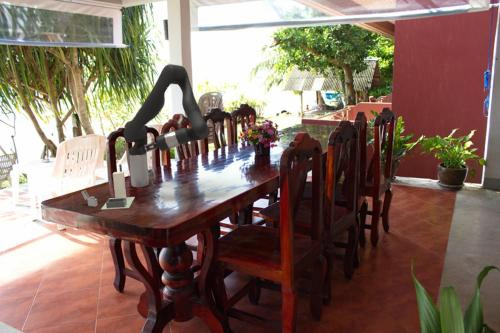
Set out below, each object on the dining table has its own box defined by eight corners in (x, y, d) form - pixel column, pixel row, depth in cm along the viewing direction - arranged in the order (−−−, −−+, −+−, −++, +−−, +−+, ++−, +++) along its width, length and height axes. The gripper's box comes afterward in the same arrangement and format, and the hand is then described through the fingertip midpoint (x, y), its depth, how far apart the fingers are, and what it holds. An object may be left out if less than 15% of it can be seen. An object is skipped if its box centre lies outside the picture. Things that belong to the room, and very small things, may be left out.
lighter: (98, 207, 199) (96, 190, 198) (95, 209, 198) (93, 191, 196) (85, 206, 202) (83, 189, 200) (82, 207, 200) (81, 190, 199)
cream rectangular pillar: (116, 199, 209) (113, 164, 205) (126, 198, 209) (123, 163, 206) (115, 200, 206) (112, 165, 202) (125, 200, 206) (122, 164, 203)
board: (109, 200, 210) (108, 193, 210) (135, 199, 212) (134, 191, 211) (101, 211, 193) (100, 203, 192) (129, 210, 194) (128, 202, 193)
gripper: (168, 132, 212) (137, 143, 213) (162, 134, 198) (129, 145, 199) (174, 147, 213) (142, 157, 214) (168, 149, 199) (134, 161, 200)
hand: (136, 152), depth 206 cm, fingers open, 8 cm apart
